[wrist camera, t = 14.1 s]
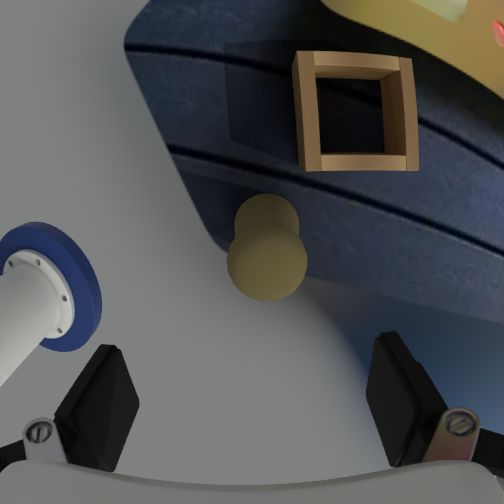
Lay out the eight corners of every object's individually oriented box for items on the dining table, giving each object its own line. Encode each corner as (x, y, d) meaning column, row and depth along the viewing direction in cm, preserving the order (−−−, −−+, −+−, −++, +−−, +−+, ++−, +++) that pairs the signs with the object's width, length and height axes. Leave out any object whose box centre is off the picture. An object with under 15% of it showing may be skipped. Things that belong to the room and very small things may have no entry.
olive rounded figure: (312, 223, 29) (337, 268, 19) (269, 268, 31) (270, 332, 21) (263, 179, 28) (262, 201, 18) (220, 228, 30) (197, 275, 19)
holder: (298, 166, 28) (305, 171, 23) (291, 65, 25) (296, 50, 20) (395, 165, 27) (419, 170, 22) (389, 69, 24) (411, 58, 19)
